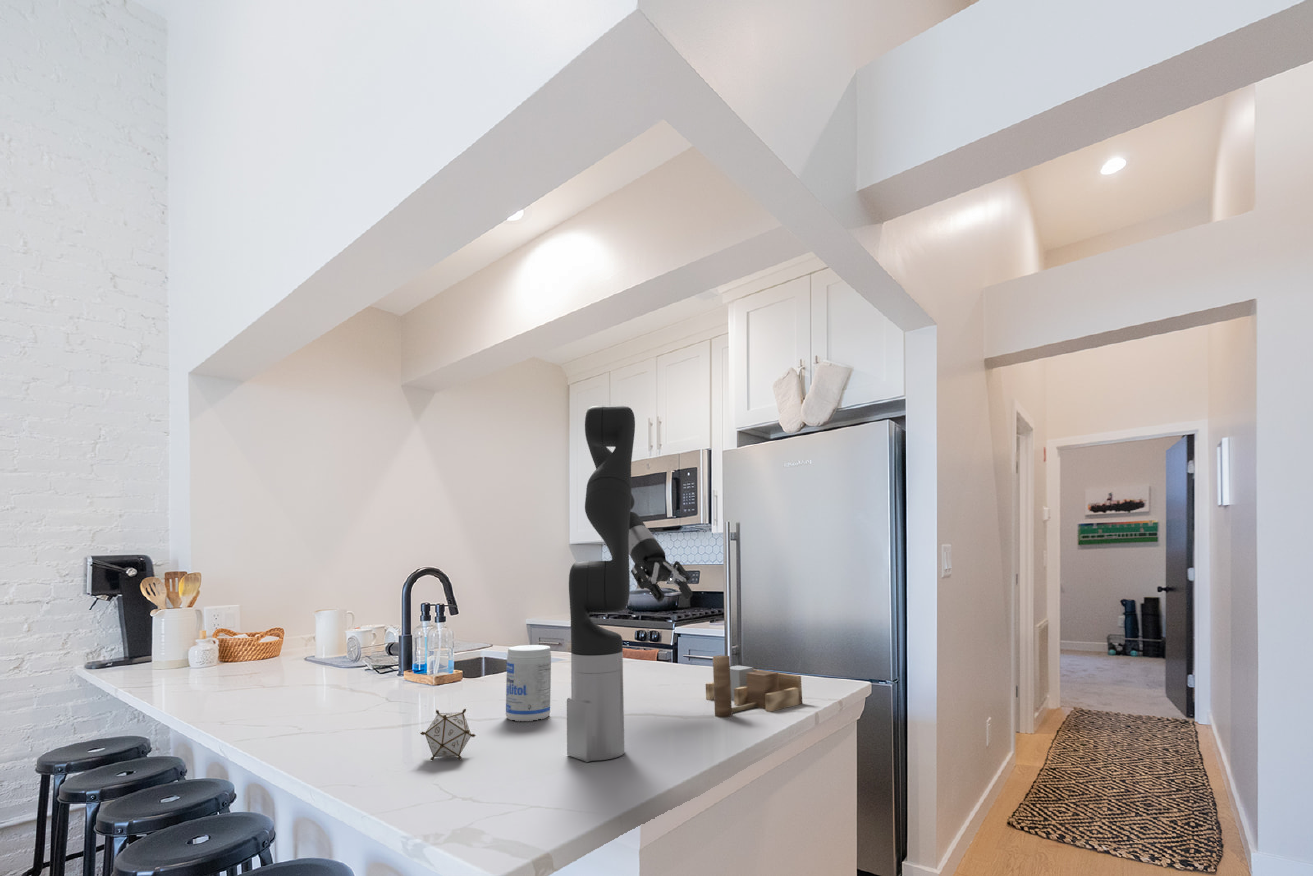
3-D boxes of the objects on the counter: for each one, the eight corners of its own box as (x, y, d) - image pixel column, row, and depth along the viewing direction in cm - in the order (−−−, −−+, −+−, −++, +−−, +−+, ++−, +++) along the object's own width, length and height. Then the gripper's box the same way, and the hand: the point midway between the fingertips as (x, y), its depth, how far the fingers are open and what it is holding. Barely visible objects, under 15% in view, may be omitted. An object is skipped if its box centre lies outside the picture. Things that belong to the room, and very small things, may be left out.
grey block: (740, 701, 163) (738, 670, 164) (724, 698, 166) (723, 668, 168) (754, 698, 166) (753, 667, 167) (739, 695, 170) (737, 665, 171)
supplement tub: (497, 721, 150) (497, 649, 152) (520, 711, 158) (520, 644, 161) (537, 724, 146) (537, 650, 149) (558, 713, 155) (558, 644, 157)
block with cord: (726, 718, 147) (723, 658, 149) (709, 714, 150) (707, 656, 152) (779, 705, 158) (776, 649, 160) (762, 702, 162) (760, 647, 163)
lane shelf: (769, 711, 152) (768, 682, 153) (706, 699, 166) (705, 672, 167) (802, 703, 159) (800, 675, 160) (738, 692, 173) (737, 666, 174)
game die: (456, 778, 124) (490, 725, 128) (445, 773, 117) (481, 717, 121) (416, 750, 126) (451, 699, 130) (402, 744, 119) (440, 690, 123)
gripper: (626, 537, 166) (659, 588, 155) (672, 536, 175) (706, 585, 164) (613, 560, 169) (645, 612, 158) (658, 558, 178) (691, 607, 168)
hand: (676, 598), depth 161 cm, fingers open, 8 cm apart
